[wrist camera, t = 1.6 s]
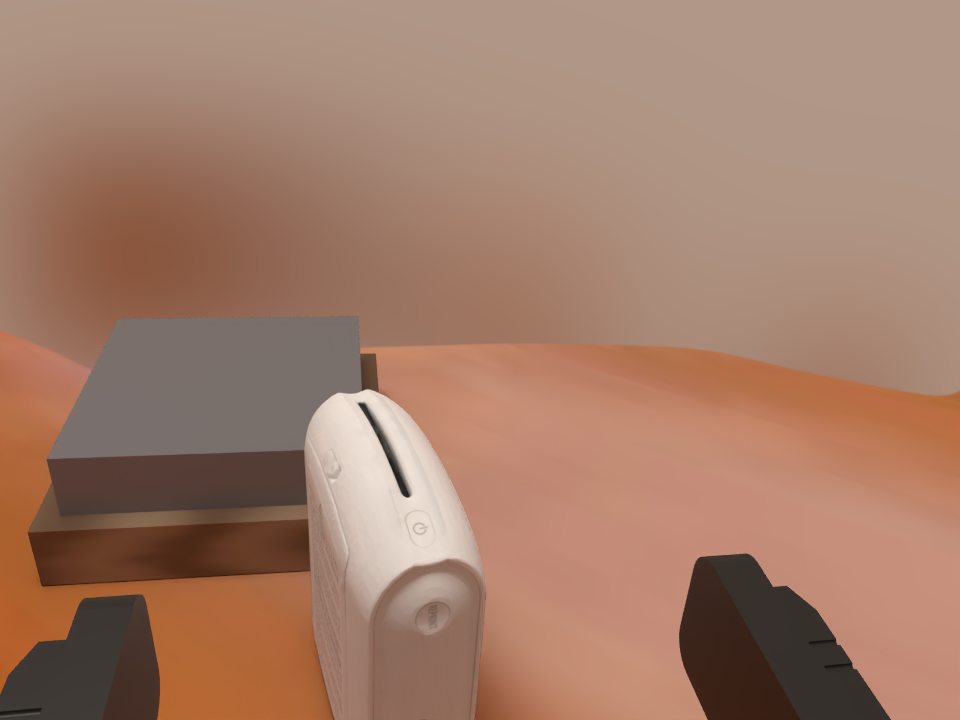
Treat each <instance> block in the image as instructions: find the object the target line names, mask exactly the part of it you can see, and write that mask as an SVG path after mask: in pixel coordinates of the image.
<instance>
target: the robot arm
mask: <svg viewBox="0 0 960 720" xmlns="http://www.w3.org/2000/svg"><path fill="white" fill-rule="evenodd" d="M679 643H680V652H681V657H682V661H683V665H684V668H685V670H686V673H687V675H688V677H689V680H690V682H691V684H692V686H693V688H694V691H695V693H696V695H697V697H698V699H699V701H700V704H701V706H702V708H703V710H704V712H705V715H706V717H707V719H708V720H891V719H890V718H889V716H888V715H887V713H886V712H885V710H884V709H883V707H882V706H881V704H880V703H879V701H878V700H877V699H876V697H875V696H874V694H873V693H872V691H871V690H870V688H869V687H868V685H867V684H866V682H865V681H864V679H863V678H862V676H861V675H860V673H859V672H858V671H857V669H853V667H852V662H851V660H850V659H849V657H848V656H847V654H846V653H845V651H844V650H843V648H842V647H841V645H837V643H836V638H835V637H834V635H833V634H832V632H831V631H830V629H829V628H828V626H827V625H826V623H825V622H824V620H823V619H822V617H821V616H820V615H819V613H818V612H817V610H816V609H814V608H813V607H812V606H811V605H810V604H808V603H807V602H806V601H805V600H803V599H802V598H801V597H800V596H799V595H797V594H796V593H795V592H794V591H792V590H791V589H790V588H789V587H787V586H779V587H773V586H772V585H771V583H770V581H769V580H768V578H767V577H766V575H765V574H764V572H763V570H762V569H761V567H760V566H759V564H758V563H757V561H756V560H755V559H754V558H753V557H752V556H751V555H749V554H735V555H721V556H706V557H700V558H698V560H697V561H696V563H695V565H694V569H693V573H692V578H691V582H690V586H689V591H688V595H687V599H686V604H685V608H684V612H683V617H682V621H681V625H680V632H679ZM159 699H160V677H159V669H158V663H157V658H156V653H155V647H154V642H153V637H152V632H151V626H150V621H149V616H148V611H147V605H146V601H145V598H144V597H143V595H141V594H139V595H125V596H110V597H96V598H85V599H83V600H82V601H81V603H80V604H79V606H78V609H77V611H76V614H75V617H74V620H73V623H72V625H71V628H70V631H69V634H68V637H67V639H66V640H56V641H44V642H38V643H37V644H36V645H35V646H34V648H33V649H32V650H31V651H30V652H29V653H28V654H27V655H26V656H25V657H24V659H23V660H22V661H21V662H20V663H19V664H18V665H17V666H16V667H15V669H14V670H13V671H12V672H11V673H10V674H9V675H8V678H7V680H6V682H5V685H4V687H3V690H2V692H1V694H0V720H157V716H158V710H159Z"/></svg>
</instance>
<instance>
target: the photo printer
mask: <svg viewBox="0 0 960 720" xmlns="http://www.w3.org/2000/svg"><path fill="white" fill-rule="evenodd" d="M304 454H305V472H306V488H307V504H308V526H309V548H310V570H311V593H312V616H313V630H314V636H315V641H316V646H317V651H318V655H319V660H320V666H321V669H322V673H323V677H324V682H325V686H326V690H327V694H328V698H329V701H330V705H331V709H332V713H333V716H334V720H474V719H475V710H476V699H477V689H478V679H479V668H480V658H481V647H482V637H483V625H484V612H485V600H486V588H485V578H484V572H483V566H482V561H481V557H480V553H479V549H478V546H477V543H476V540H475V537H474V534H473V531H472V528H471V526H470V523H469V521H468V518H467V516H466V513H465V511H464V508H463V506H462V504H461V501H460V499H459V497H458V495H457V493H456V490H455V488H454V486H453V484H452V482H451V480H450V478H449V476H448V474H447V472H446V470H445V468H444V467H443V465H442V463H441V461H440V459H439V458H438V456H437V454H436V452H435V451H434V449H433V447H432V446H431V444H430V442H429V441H428V439H427V438H426V436H425V435H424V433H423V432H422V431H421V429H420V428H419V427H418V425H417V424H416V423H415V421H414V420H413V419H412V418H411V417H410V416H409V414H408V413H407V412H405V411H404V409H402V408H401V407H400V406H399V405H397V404H396V403H395V402H393V401H392V400H390V399H389V398H387V397H386V396H384V395H382V394H380V393H378V392H375V391H373V390H369V389H367V390H364V391H361V392H359V393H355V394H346V393H337V394H335V395H333V396H331V397H330V398H329V399H327V400H326V401H325V402H324V403H323V404H322V405H321V406H320V407H319V408H318V410H317V411H316V412H315V414H314V415H313V417H312V419H311V421H310V423H309V426H308V429H307V434H306V439H305V447H304Z"/></svg>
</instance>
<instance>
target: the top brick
mask: <svg viewBox="0 0 960 720" xmlns="http://www.w3.org/2000/svg"><path fill="white" fill-rule="evenodd" d="M361 391H362V383H361V360H360V337H359V317H358V316H345V317H343V316H342V317H256V318H255V317H252V318H251V317H249V318H165V319H164V318H158V319H118V321H117V323H116V325H115V327H114V329H113V331H112V333H111V335H110V337H109V339H108V341H107V343H106V345H105V347H104V349H103V351H102V352H101V354H100V356H99V359H98V360H97V362H96V364H95V366H94V368H93V370H92V372H91V374H90V376H89V378H88V380H87V382H86V384H85V385H84V387H83V389H82V391H81V393H80V395H79V397H78V399H77V401H76V403H75V405H74V407H73V409H72V411H71V413H70V415H69V417H68V419H67V421H66V422H65V424H64V426H63V428H62V430H61V432H60V434H59V436H58V438H57V440H56V442H55V444H54V446H53V448H52V450H51V452H50V454H49V456H48V458H47V462H48V467H49V471H50V475H51V479H52V484H53V488H54V492H55V496H56V500H57V505H58V509H59V513H60V516H68V515H91V514H113V513H135V512H157V511H179V510H201V509H223V508H246V507H268V506H290V505H308V504H307V488H306V472H305V454H304V447H305V439H306V434H307V429H308V426H309V423H310V421H311V419H312V417H313V415H314V414H315V412H316V411H317V410H318V408H319V407H320V406H321V405H322V404H323V403H324V402H325V401H326V400H327V399H329V398H330V397H331V396H333V395H335V394H337V393H346V394H355V393H359V392H361Z"/></svg>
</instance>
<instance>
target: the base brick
mask: <svg viewBox="0 0 960 720" xmlns="http://www.w3.org/2000/svg"><path fill="white" fill-rule="evenodd" d="M360 360H361V383H362V391H364V390H367V389H369V390H373V391H375V392H378V393H379V391H378V378H377V365H376V354H360ZM28 535H29V539H30V543H31V547H32V551H33V554H34V558H35V562H36V566H37V569H38V573H39V577H40V581H41V585H42V586H45V585H63V584H80V583H98V582H115V581H133V580H150V579H168V578H185V577H203V576H220V575H238V574H255V573H273V572H290V571H308V570H310V548H309V526H308V505H290V506H268V507H246V508H223V509H201V510H179V511H157V512H135V513H113V514H91V515H68V516H60V513H59V509H58V505H57V500H56V496H55V492H54V488H53V484H51V486H50V488H49V490H48V492H47V494H46V496H45V498H44V500H43V502H42V504H41V506H40V508H39V510H38V512H37V514H36V517H35V519H34V521H33V523H32V525H31V527H30V529H29V531H28Z"/></svg>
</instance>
